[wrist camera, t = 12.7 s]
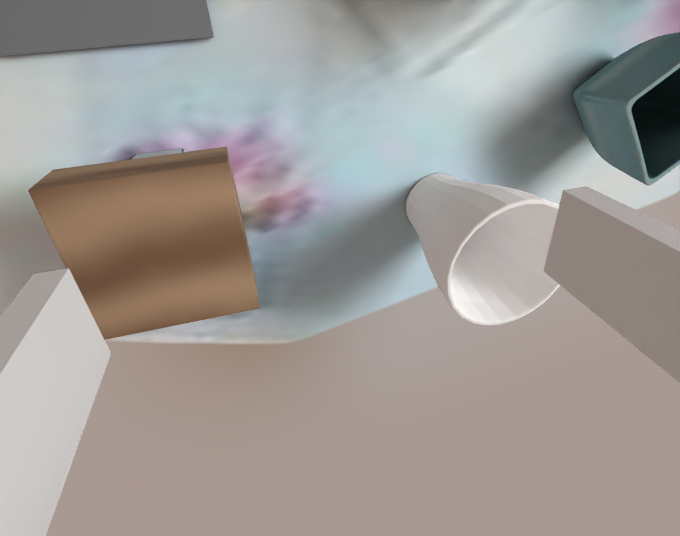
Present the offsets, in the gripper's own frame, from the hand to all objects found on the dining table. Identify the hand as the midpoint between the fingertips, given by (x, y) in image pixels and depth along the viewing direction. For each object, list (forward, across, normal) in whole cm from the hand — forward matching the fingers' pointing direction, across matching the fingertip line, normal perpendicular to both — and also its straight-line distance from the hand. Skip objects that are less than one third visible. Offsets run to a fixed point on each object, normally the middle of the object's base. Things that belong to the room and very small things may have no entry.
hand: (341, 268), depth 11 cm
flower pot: (+27, +32, -3) cm, 42 cm away
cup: (+26, +15, -11) cm, 32 cm away
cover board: (+20, -9, -7) cm, 23 cm away
